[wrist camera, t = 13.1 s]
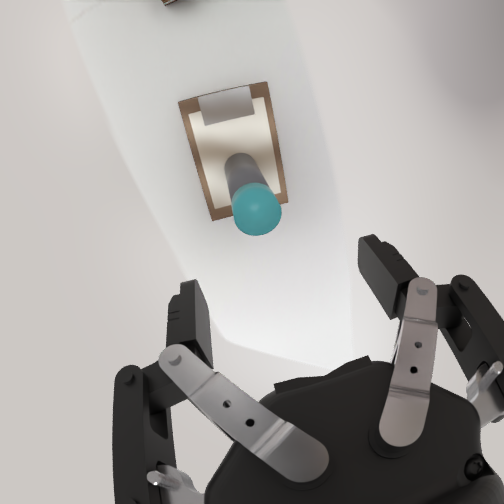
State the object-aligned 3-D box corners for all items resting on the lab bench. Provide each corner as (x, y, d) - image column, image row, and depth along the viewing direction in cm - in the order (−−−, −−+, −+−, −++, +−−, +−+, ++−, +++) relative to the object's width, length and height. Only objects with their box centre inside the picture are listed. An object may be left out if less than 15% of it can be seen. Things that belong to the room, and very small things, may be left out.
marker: (220, 156, 29) (228, 199, 20) (253, 148, 29) (277, 187, 20) (228, 186, 31) (239, 240, 22) (259, 179, 31) (284, 229, 22)
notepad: (178, 101, 26) (177, 103, 25) (265, 81, 26) (269, 82, 25) (212, 217, 34) (212, 225, 33) (286, 199, 34) (290, 206, 33)
